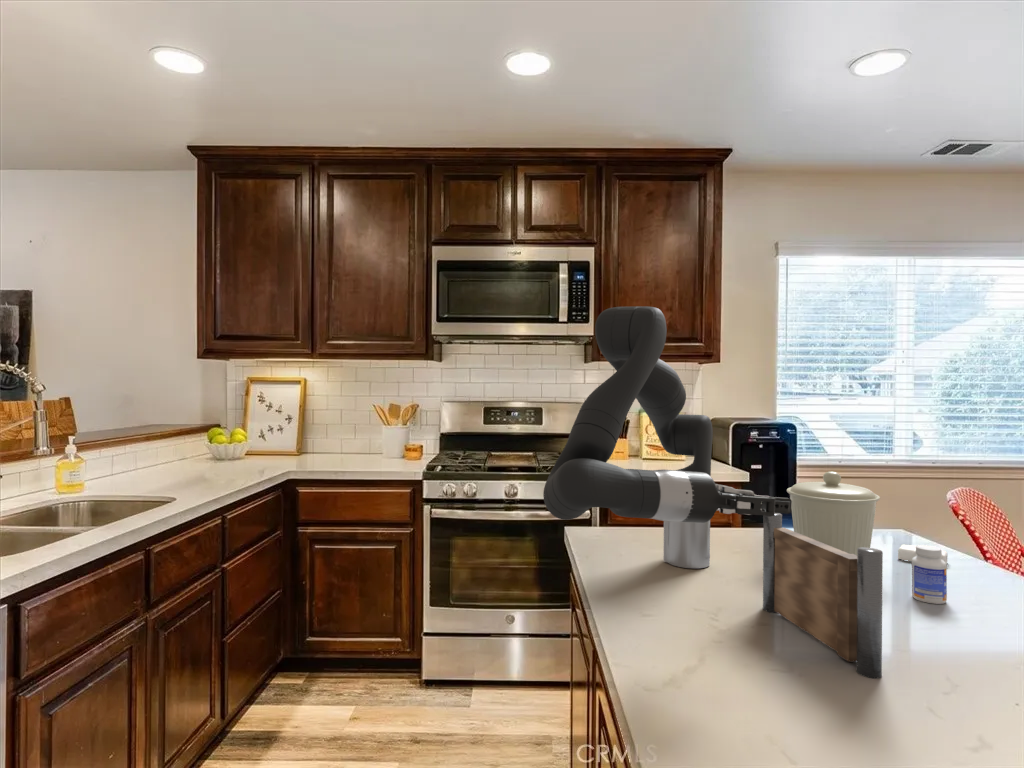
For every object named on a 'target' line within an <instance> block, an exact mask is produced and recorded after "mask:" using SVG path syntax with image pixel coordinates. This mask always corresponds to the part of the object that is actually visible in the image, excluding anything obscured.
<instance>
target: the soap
mask: <svg viewBox="0 0 1024 768" xmlns="http://www.w3.org/2000/svg"><path fill="white" fill-rule="evenodd" d="M900 545H901V546H900V547H899V548H898V549H897V558H898V560H899V559H902V560H901V561H903V560H908V561H907V562H909V561H912V559H913V558H914V557H916V556H917V554H916V546H917V545H911V544H900ZM941 550H942V557H940V559H941V560H943V561H944V562H945V563H946V565H947V563H948V552H947V551H946V550H943V549H941Z"/></svg>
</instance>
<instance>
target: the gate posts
mask: <svg viewBox="0 0 1024 768" xmlns="http://www.w3.org/2000/svg"><path fill="white" fill-rule="evenodd" d="M774 528H783V513H775V516H768V515H763V533H762V535H763V536H762V537H763V539H762V542H763V546H762V547H763V549H762V550H763V551H762V553H763V554H762V557H763V558H762V567H763V568H762V571H763V572H762V609H763V611H765V612H767V613H773V614H778V613H777V612H776V611H774V592H775V538H774ZM883 558H884V557H883V551H882V550H880V549H878V548H873V547H870V548H866V547H861V548H857V661H856V672H857V673H858V674H859V675H860V676H863V677H865V678H869V679H881V678H882V677H883V676H882V674H883V669H882V668H883V568H884V567H883V563H884V561H883V560H884V559H883Z"/></svg>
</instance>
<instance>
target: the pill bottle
mask: <svg viewBox="0 0 1024 768" xmlns="http://www.w3.org/2000/svg"><path fill="white" fill-rule="evenodd" d="M915 546H916V554H917V556H916V557H914V558H913V559H912V562H911V596H912V597H913V598H914V599H915V600H917V601H919V602H922V603H923V602H924V603H926V604H927V603H928V604H933V605H942V604H943V605H944V604H946V603H947V601H948V600H947V599H948V596H947V595H948V593H947V592H948V590H947V589H948V588H947V584H948V583H947V581H948V579H947V577H948V576H947V569H948V568H947V564H946V563H945V562H944V561H943V560H941V559H940V557H942V550H943V549H942V548H940V547H938V546H934V545H926V544H919V545H915Z"/></svg>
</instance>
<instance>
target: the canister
mask: <svg viewBox="0 0 1024 768" xmlns="http://www.w3.org/2000/svg"><path fill="white" fill-rule="evenodd" d="M822 479H823V481H805V482H804V481H803V482H799V483H795V484H794V485H792V486H791V487H788V488H787V489H786V492H787V493H788V494H789V499H791V501H792V505H791V516H792V526H793V531H794V532H796V533H799V534H801V535H804V536H806V537H809V538H811V539H814V540H816V541H819V542H821V543H824V544H826V545H829V546H831V547H834V548H836V549H839V550H841V551H844V552H846V553H849V554H854V555H857V548H861V547H866V548H871V544H872V537H873V529H874V522H875V516H876V508H877V507H876V506H877V502H878V501H880V499H881V496H880V495H878V494H876V493H874V491H872V490H871V489H869V488H867V487H864V486H860V485H855V484H849V483H843V482H842V483H841V481H842V476H841V474H839V472H836V471H827V472H825V473H824V474H823V476H822Z"/></svg>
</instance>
